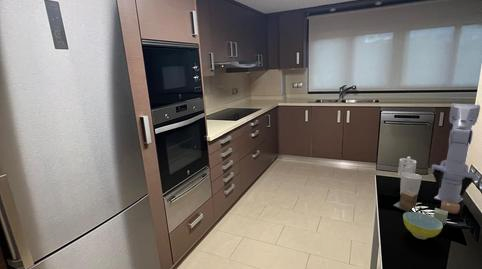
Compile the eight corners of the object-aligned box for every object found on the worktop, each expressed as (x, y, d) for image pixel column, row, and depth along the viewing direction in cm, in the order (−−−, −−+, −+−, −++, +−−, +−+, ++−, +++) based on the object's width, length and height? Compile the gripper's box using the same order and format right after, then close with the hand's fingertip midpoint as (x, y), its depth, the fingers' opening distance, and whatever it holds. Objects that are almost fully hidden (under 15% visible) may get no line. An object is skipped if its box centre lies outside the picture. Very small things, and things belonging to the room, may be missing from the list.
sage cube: (433, 216, 104) (435, 207, 103) (446, 220, 101) (448, 211, 100) (432, 221, 101) (434, 211, 100) (445, 224, 98) (447, 215, 97)
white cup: (400, 197, 120) (403, 177, 117) (397, 190, 127) (400, 171, 125) (420, 200, 117) (423, 179, 115) (416, 193, 124) (419, 173, 122)
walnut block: (404, 202, 114) (406, 189, 113) (415, 206, 111) (417, 193, 109) (399, 205, 112) (401, 192, 110) (410, 209, 108) (412, 196, 107)
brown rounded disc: (443, 205, 113) (444, 198, 112) (460, 211, 108) (462, 204, 108) (438, 209, 110) (439, 202, 109) (455, 215, 105) (457, 208, 104)
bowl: (434, 230, 95) (437, 215, 93) (443, 249, 84) (447, 232, 83) (399, 223, 99) (401, 208, 98) (403, 240, 89) (405, 224, 88)
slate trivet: (402, 200, 117) (402, 199, 117) (422, 208, 110) (422, 207, 110) (393, 205, 112) (393, 204, 112) (413, 213, 106) (413, 212, 106)
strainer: (413, 185, 132) (417, 157, 129) (411, 190, 127) (416, 161, 123) (397, 182, 136) (401, 155, 133) (395, 186, 131) (399, 158, 128)
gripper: (430, 156, 105) (425, 187, 108) (476, 166, 93) (469, 201, 97) (437, 153, 109) (432, 183, 112) (482, 163, 97) (475, 196, 100)
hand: (449, 191), depth 105 cm, fingers open, 7 cm apart
